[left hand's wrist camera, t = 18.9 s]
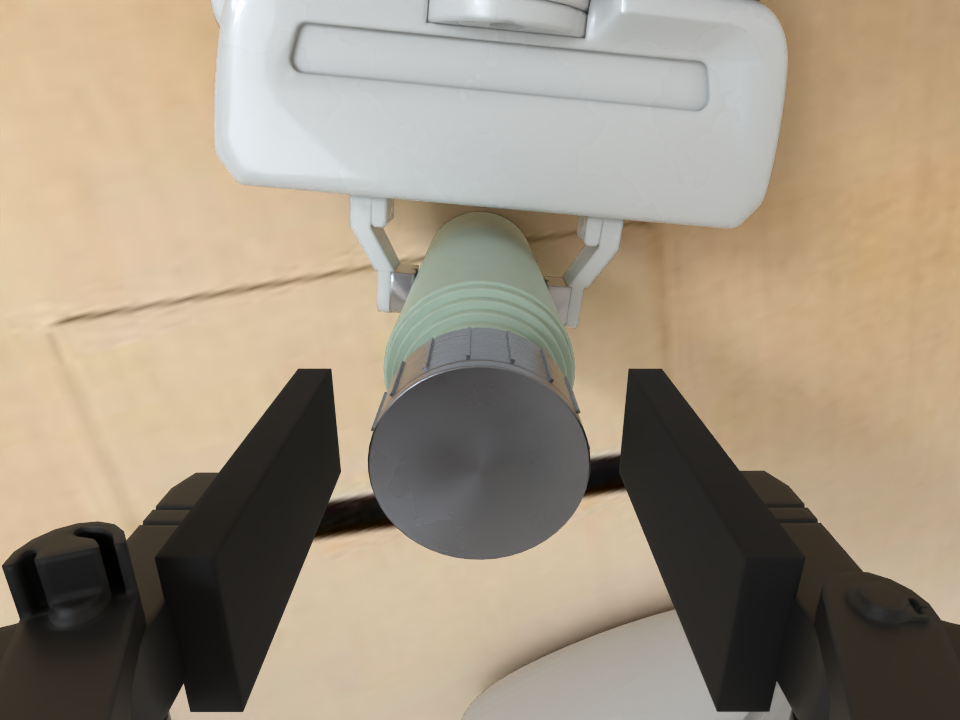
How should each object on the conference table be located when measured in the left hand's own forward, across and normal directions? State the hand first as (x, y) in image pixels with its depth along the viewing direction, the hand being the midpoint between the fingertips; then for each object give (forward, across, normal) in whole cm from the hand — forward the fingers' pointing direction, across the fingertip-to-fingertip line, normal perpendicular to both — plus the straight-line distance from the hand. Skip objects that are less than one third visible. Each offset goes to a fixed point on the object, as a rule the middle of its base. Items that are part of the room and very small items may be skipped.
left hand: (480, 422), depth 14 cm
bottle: (+18, 0, 0) cm, 18 cm away
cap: (-2, 0, 0) cm, 2 cm away
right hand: (+12, 0, -1) cm, 12 cm away
